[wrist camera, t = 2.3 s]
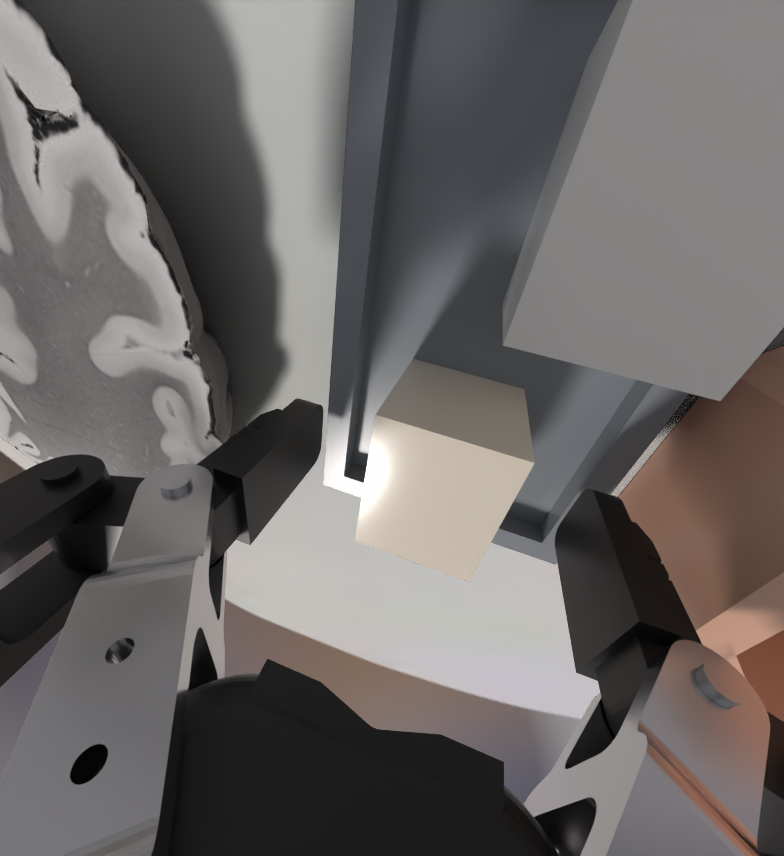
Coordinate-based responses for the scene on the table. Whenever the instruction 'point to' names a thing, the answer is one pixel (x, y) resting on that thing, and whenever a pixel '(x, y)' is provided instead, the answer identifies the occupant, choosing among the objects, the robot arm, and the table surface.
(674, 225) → the stone
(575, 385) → the tray
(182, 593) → the robot arm
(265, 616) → the table surface
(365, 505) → the stone
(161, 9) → the table surface
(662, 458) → the bowl
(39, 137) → the brain slice
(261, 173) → the table surface
